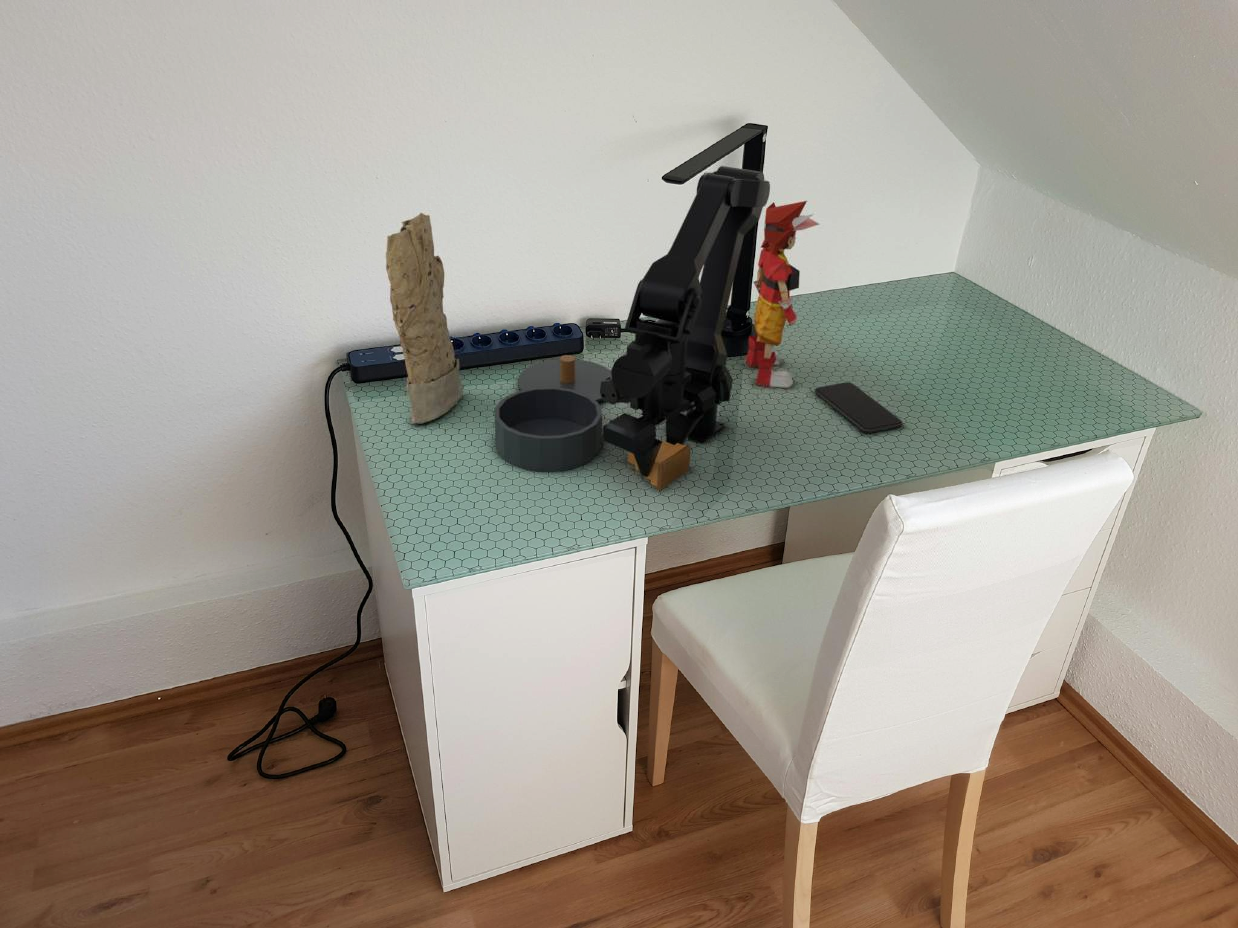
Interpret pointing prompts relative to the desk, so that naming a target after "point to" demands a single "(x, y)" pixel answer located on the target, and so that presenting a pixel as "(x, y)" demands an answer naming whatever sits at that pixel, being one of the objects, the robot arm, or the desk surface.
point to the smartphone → (858, 407)
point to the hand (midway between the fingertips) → (658, 466)
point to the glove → (422, 320)
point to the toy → (775, 291)
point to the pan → (548, 429)
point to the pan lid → (566, 376)
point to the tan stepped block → (667, 464)
